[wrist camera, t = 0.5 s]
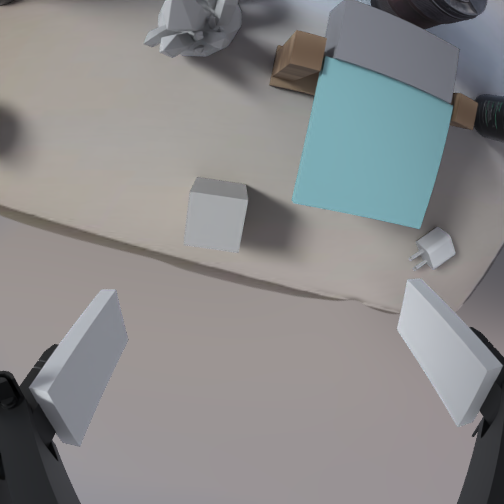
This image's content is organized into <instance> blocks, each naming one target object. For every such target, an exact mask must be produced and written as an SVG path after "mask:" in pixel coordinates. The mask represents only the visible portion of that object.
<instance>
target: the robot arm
mask: <svg viewBox="0 0 504 504" xmlns="http://www.w3.org/2000/svg"><path fill="white" fill-rule="evenodd" d="M12 1H14V0H0V5H4V4H7V3H10V2H12ZM397 330H398V332H399V333H400V335H401V336H402V338H403V339H404V341H405V342H406V344H407V345H408V347H409V348H410V350H411V351H412V353H413V355H414V356H415V358H416V359H417V361H418V362H419V364H420V366H421V367H422V369H423V370H424V372H425V374H426V375H427V377H428V378H429V380H430V382H431V383H432V385H433V387H434V388H435V390H436V391H437V393H438V395H439V396H440V398H441V400H442V401H443V403H444V405H445V407H446V408H447V410H448V412H449V413H450V415H451V417H452V418H453V420H454V422H455V424H456V426H457V427H460V426H463V425H466V424H468V423H471V422H473V421H474V419H475V417H476V416H477V414H478V412H479V411H480V412H481V413H482V415H483V418H482V420H481V421H480V423H479V425H478V426H477V428H476V430H475V431H474V433H473V435H472V437H474V436H475V435H476V433H477V432H478V434H477V438H476V443H475V447H474V451H473V455H472V458H471V462H470V465H469V469H468V472H467V476H466V479H465V482H464V485H463V488H462V491H461V494H460V497H459V499H458V502H457V504H504V357H503V356H502V355H501V354H500V353H499V351H497V349H496V348H494V347H493V345H492V344H491V343H490V342H488V339H487V338H486V337H485V336H484V335H483V334H482V333H481V332H479V331H478V330H476V329H474V328H473V327H468V326H467V325H466V324H465V323H464V322H463V321H462V320H461V318H460V317H459V316H458V315H457V314H456V313H455V312H454V311H453V310H452V309H451V308H450V307H449V306H448V305H447V304H446V303H445V302H444V301H443V300H442V299H441V298H440V297H439V296H438V295H437V294H436V293H435V292H434V291H433V290H432V289H431V288H430V287H429V286H428V285H427V284H426V283H425V282H424V281H423V280H422V279H421V278H420V279H407V284H406V289H405V295H404V300H403V305H402V309H401V314H400V319H399V323H398V327H397ZM127 342H128V336H127V332H126V329H125V325H124V321H123V317H122V313H121V309H120V304H119V301H118V296H117V291H116V289H113V290H111V289H102V290H100V292H99V293H98V294H97V296H96V297H95V298H94V300H92V302H91V303H90V304H89V306H88V307H87V308H86V309H85V311H84V312H83V313H82V315H81V316H80V317H79V318H78V320H77V321H76V322H75V324H74V325H73V327H72V328H71V329H70V330H69V332H68V333H67V335H66V336H65V337H64V338H63V340H62V341H61V343H60V344H59V345H57V344H54V345H53V346H51V347H50V348H49V349H47V350H46V351H45V352H44V353H43V354H42V356H41V357H40V359H39V361H37V363H36V364H35V365H34V368H32V370H31V371H30V372H29V374H28V375H27V377H26V378H25V379H24V381H23V382H22V384H21V385H20V387H19V385H18V384H17V382H16V380H15V378H14V376H13V374H12V373H10V372H7V371H0V504H81V503H80V501H79V499H78V497H77V495H76V493H75V491H74V488H73V486H72V484H71V482H70V480H69V477H68V475H67V473H66V470H65V468H64V466H63V463H62V461H61V458H60V455H59V453H58V450H57V447H56V445H55V444H54V442H53V441H52V439H53V437H54V435H55V433H56V434H57V435H58V437H59V438H60V439H61V441H62V442H63V443H66V444H71V445H75V446H79V447H80V445H81V443H82V440H83V438H84V436H85V433H86V431H87V429H88V426H89V424H90V422H91V419H92V417H93V414H94V412H95V410H96V408H97V406H98V403H99V401H100V399H101V397H102V394H103V392H104V390H105V388H106V386H107V383H108V381H109V379H110V377H111V375H112V373H113V371H114V369H115V367H116V364H117V362H118V360H119V358H120V356H121V354H122V352H123V350H124V348H125V346H126V344H127Z"/></svg>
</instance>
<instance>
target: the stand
mask: <svg viewBox="0 0 504 504" xmlns="http://www.w3.org/2000/svg"><path fill="white" fill-rule="evenodd" d="M326 41H327V38H324V37H321V36H317V35H313V34H310V33H306V32H302V31H298V30H296V32H295V33H294V34H293V35H292V36H291V37H290V38H289V40H288V41H287V42H286V43H285V44H284V45H283V46H280V45H278V47H277V51H276V55H275V60H274V65H273V70H272V75H271V80H270V86H275V87H280V88H285V89H289V90H294V91H298V92H302V93H307V94H311V95H315V92H316V87H317V82H318V77H319V72H320V71H321V66H322V61H323V56H324V51H325V46H326ZM449 104H451V105H453V110H452V115H451V120H450V124H449V125H451V126H456V127H460V128H465V129H470V130H473V127H474V122H475V117H476V112H477V106H478V103H477V102H475V101H474V100H472V99H470V98H468V97H467V96H465V95H463V94H461V93H453V96H452V101H451V103H449Z"/></svg>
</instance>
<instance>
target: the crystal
mask: <svg viewBox="0 0 504 504" xmlns="http://www.w3.org/2000/svg"><path fill="white" fill-rule="evenodd" d="M238 1H239V0H165V2H164V4H163V6H162V9H161V11H160V13H159V16H158V28H156V29H154V30H152V31H150V32H148V34H147V37H146V39H145V41H144V44H145V45H148V46H151V47H154V46H156V45H158V44H160V43H161V44H160V51H159V52H160V53H163V54H165V55H167V56H169V57H172V58H173V57H175V56H177V55H179V54H181V55H182V56H208V55H211V54H213V53H215V52H217V51H219V50H221V49H223V48H225V47H228V46H229V44H230V43H231V41H232V39H233V38H234V36H235V35H236V33H237V31H238V30H239V29H240V27H241V24H242V12H241V10H240V7H239V5H238Z"/></svg>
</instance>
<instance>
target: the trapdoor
mask: <svg viewBox="0 0 504 504" xmlns="http://www.w3.org/2000/svg"><path fill="white" fill-rule="evenodd" d="M325 38H327V41H326V46H325V51H324V56H323V61H322V66H321V71H320V72H319V77H318V82H317V87H316V92H315V97H314V101H313V106H312V111H311V116H310V120H309V125H308V129H307V134H306V139H305V143H304V148H303V152H302V157H301V161H300V166H299V170H298V175H297V179H296V183H295V188H294V192H293V196H292V201H293V203H295V204H301V205H306V206H312V207H317V208H322V209H327V210H333V211H338V212H343V213H348V214H353V215H357V216H362V217H367V218H372V219H376V220H381V221H386V222H390V223H395V224H399V225H404V226H408V227H412V228H417V229H420V227H421V224H422V221H423V218H424V215H425V212H426V209H427V206H428V203H429V200H430V196H431V193H432V190H433V186H434V183H435V180H436V176H437V172H438V169H439V165H440V161H441V158H442V154H443V150H444V146H445V142H446V137H447V133H448V129H449V124H450V120H451V115H452V110H453V105H451V104H449V103H451V101H452V96H453V90H454V84H455V78H456V72H457V65H458V57H459V48H457V47H455V46H453V45H452V44H450V43H448V42H446V41H445V40H443V39H441V38H439V37H437V36H435V35H434V34H432V33H430V32H428V31H426V30H424V29H422V28H420V27H418V26H416V25H414V24H411V23H409V22H407V21H405V20H403V19H401V18H398V17H396V16H394V15H391V14H389V13H387V12H384V11H382V10H379V9H377V8H374V7H372V6H369V5H366V4H364V3H361V2H358V1H355V0H343V1H342V2H341V3H340V4H338V5H337V6H336V7H335V8H334V9H333V10H332V11H330V15H329V20H328V25H327V31H326V36H325Z"/></svg>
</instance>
